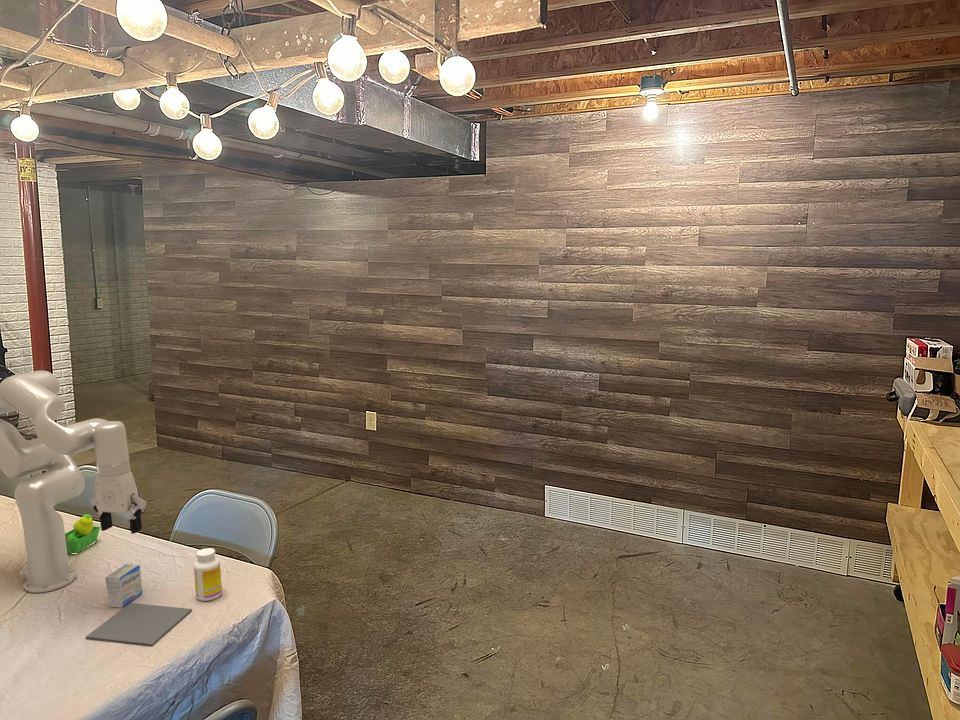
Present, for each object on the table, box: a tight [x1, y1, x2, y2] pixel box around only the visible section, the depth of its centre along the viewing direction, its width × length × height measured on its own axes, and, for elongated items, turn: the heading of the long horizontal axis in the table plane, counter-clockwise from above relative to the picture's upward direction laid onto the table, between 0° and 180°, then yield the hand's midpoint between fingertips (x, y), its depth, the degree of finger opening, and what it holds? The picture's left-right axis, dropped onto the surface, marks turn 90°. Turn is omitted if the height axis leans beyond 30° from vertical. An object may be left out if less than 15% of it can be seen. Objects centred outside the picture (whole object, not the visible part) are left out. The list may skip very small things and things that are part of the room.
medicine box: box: [105, 563, 143, 609], centre depth 180 cm, size 8×4×9 cm, turn 168°
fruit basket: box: [65, 513, 101, 554], centre depth 211 cm, size 11×9×11 cm
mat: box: [85, 602, 193, 647], centre depth 169 cm, size 18×16×1 cm
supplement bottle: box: [193, 547, 223, 602], centre depth 182 cm, size 7×7×13 cm
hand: (121, 530), depth 178 cm, fingers open, 9 cm apart
